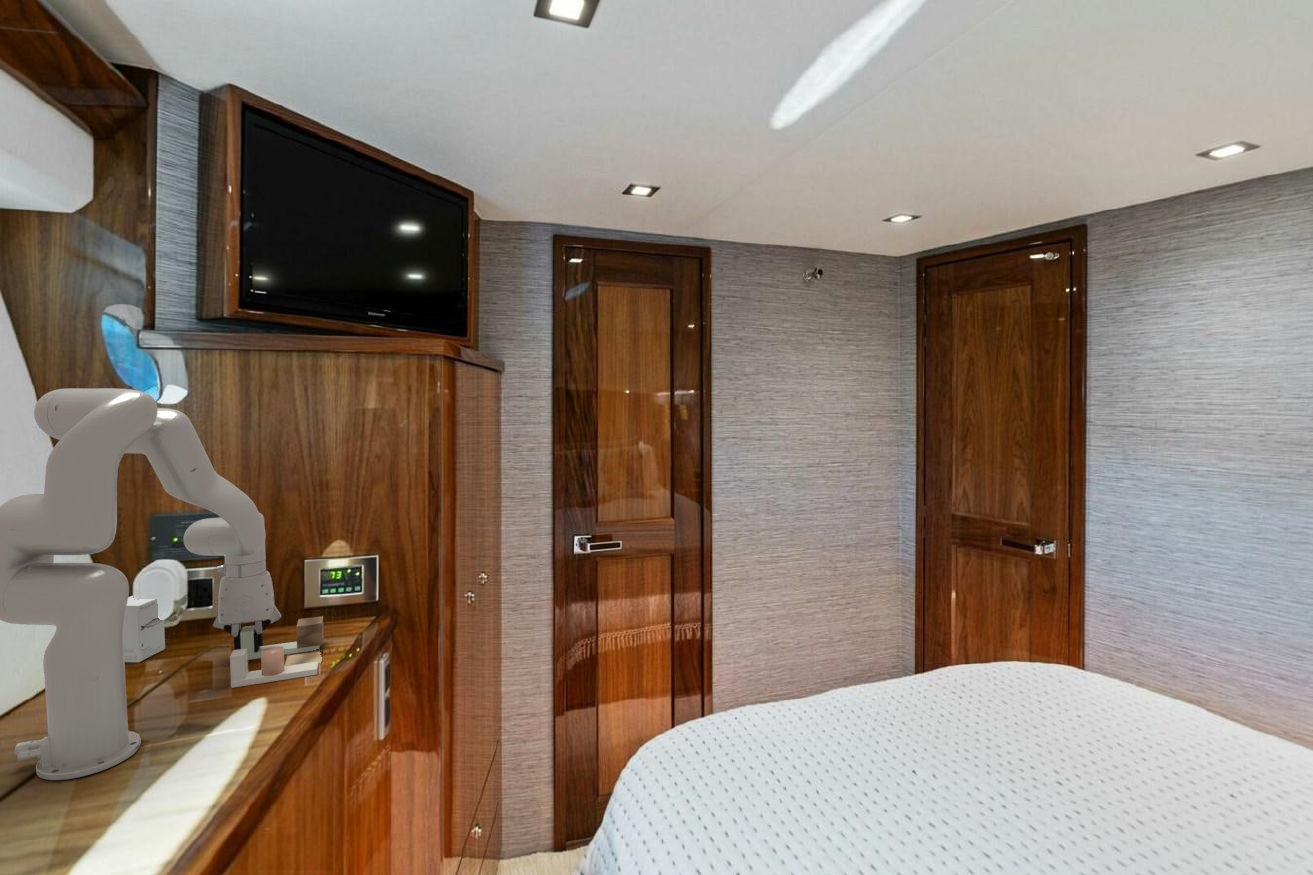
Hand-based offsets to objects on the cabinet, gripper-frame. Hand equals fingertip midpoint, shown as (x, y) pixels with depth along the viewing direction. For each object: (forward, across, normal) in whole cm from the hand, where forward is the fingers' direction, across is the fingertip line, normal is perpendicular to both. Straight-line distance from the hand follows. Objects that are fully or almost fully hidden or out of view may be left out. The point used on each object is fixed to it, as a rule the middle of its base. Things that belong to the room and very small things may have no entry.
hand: (248, 650), depth 141 cm
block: (0, +12, 0) cm, 12 cm away
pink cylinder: (0, +6, -14) cm, 15 cm away
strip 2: (+1, +7, -14) cm, 16 cm away
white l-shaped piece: (+1, +6, 0) cm, 6 cm away
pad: (+1, +11, -7) cm, 13 cm away
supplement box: (+2, -23, +12) cm, 26 cm away
